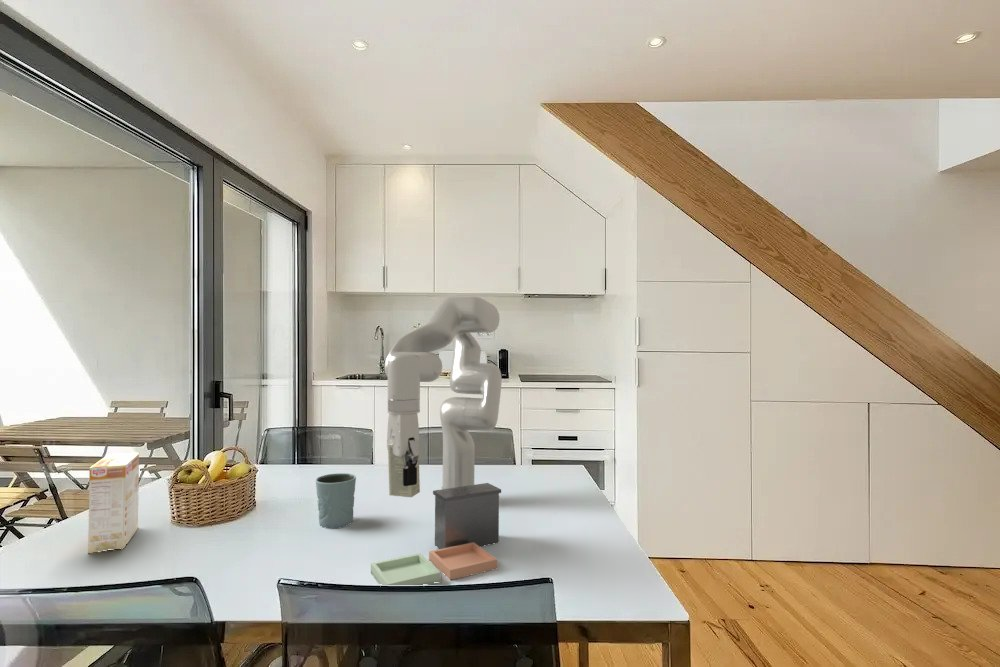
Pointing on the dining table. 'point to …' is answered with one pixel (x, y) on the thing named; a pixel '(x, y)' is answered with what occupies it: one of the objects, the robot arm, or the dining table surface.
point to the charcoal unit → (467, 515)
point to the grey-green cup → (335, 499)
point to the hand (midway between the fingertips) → (403, 480)
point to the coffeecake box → (113, 501)
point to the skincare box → (400, 476)
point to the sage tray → (406, 571)
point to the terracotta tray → (462, 560)
